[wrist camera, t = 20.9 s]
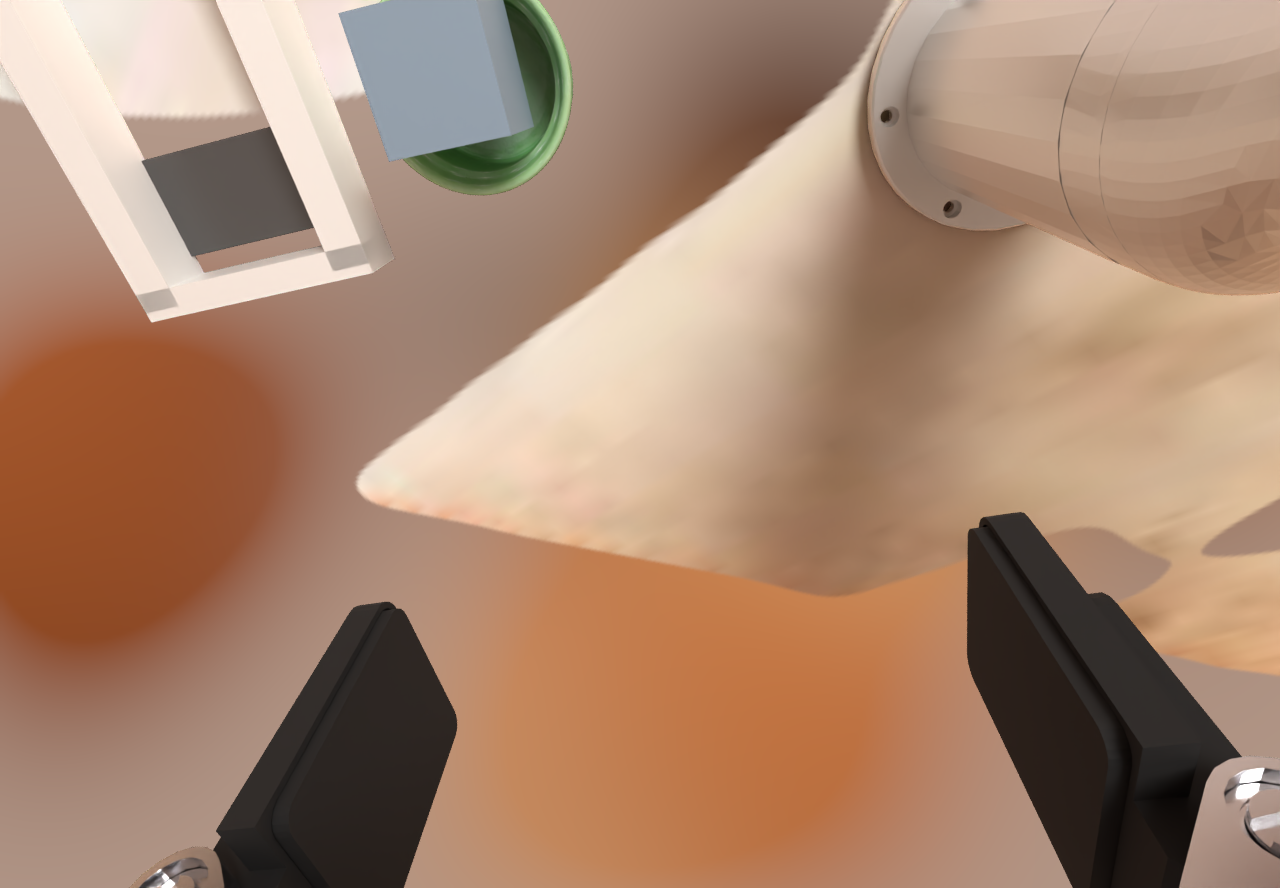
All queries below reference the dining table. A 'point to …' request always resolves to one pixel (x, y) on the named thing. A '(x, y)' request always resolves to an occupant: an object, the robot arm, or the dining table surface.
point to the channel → (204, 165)
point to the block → (438, 73)
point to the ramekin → (549, 104)
